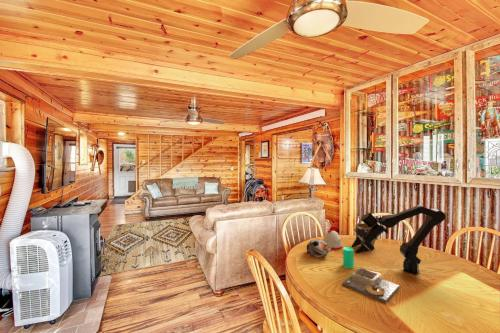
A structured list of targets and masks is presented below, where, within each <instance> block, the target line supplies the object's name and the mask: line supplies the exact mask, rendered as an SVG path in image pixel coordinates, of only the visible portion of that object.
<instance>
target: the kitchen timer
mask: <svg viewBox="0 0 500 333" xmlns="http://www.w3.org/2000/svg"><path fill="white" fill-rule="evenodd" d="M337 229H338V227H336V225H334V226H333V225H332V226H330V227H329V228H328V229H327V232H326V233H325V234H324V235H323V239H322V241H324V242H325V243H326V244H327V245H328V246H329V247H331V250H330V251H332V250H334V251H339V250H343V242H342V239H341V237H340V235H339V233H338V232H337Z"/></svg>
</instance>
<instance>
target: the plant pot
mask: <svg viewBox="0 0 500 333" xmlns="http://www.w3.org/2000/svg"><path fill="white" fill-rule="evenodd" d="M354 225H355V227H354V228H356V226H358V227H360V228H363V229H365V230H366V229H368V230H369V229H370V228H371V227H368V226H367V225H366V224H365V223H364V222H362V223H361V222H360V223H356V224H354ZM362 241H363V240H362ZM375 243H376V239H375V240H373V241H372V245H373V246H374V247H375ZM363 244H364V243H363ZM359 246H361V244H360V245H359Z"/></svg>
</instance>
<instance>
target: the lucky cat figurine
mask: <svg viewBox="0 0 500 333" xmlns="http://www.w3.org/2000/svg"><path fill="white" fill-rule="evenodd" d="M330 251H332V250H331V247H329V246H328V245H327V244H326V243H325V242H324V241H323V239H322V240H321V239H314V240H313V239H310V240H309V242H308V243H307V244H306V252H307V254H309V256H310V257H313V258H316V257H317V258H320V257H323V256H325V255H328V254H329V253H330Z"/></svg>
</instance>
